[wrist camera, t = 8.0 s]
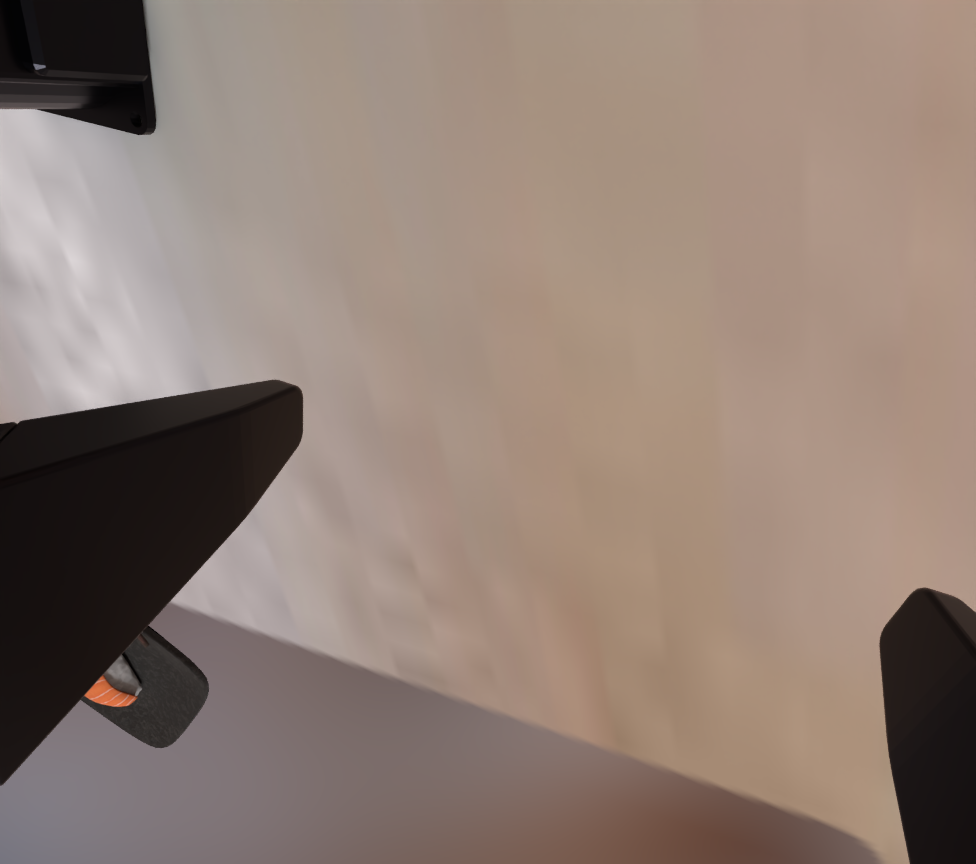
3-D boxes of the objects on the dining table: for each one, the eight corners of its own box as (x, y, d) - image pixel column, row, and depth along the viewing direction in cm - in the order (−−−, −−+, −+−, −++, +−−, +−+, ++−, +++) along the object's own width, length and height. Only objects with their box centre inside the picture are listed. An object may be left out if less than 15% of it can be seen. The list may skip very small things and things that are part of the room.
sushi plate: (-125, 517, 45) (-187, 548, 42) (-139, 184, 29) (-243, 193, 25) (180, 737, 47) (143, 782, 44) (330, 543, 31) (288, 593, 28)
